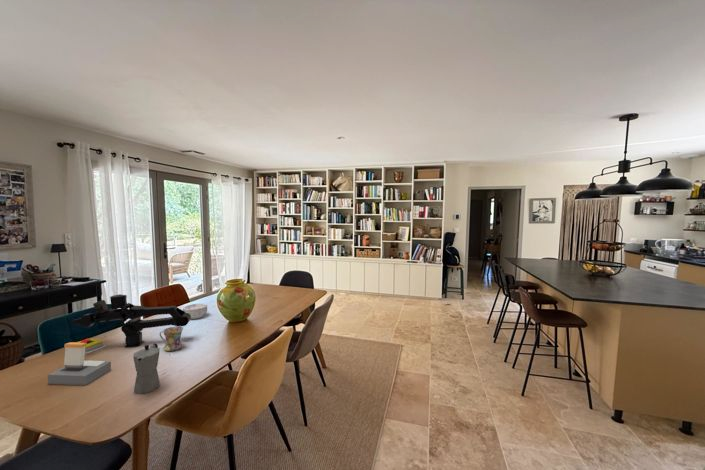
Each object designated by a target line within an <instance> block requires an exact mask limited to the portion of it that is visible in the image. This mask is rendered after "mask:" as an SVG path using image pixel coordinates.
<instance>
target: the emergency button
mask: <svg viewBox="0 0 705 470" xmlns="http://www.w3.org/2000/svg"><path fill="white" fill-rule="evenodd" d="M76 343H87V346H85V355H86V354H89V353H93V352H95V351H99V350H101V349H103V347H104V348H106V347H107V345H106V344H104V341H103V340H101V339H95V338H86V339H85V338H84V339H82V340H80V341H76Z"/></svg>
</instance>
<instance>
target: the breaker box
mask: <svg viewBox="0 0 705 470" xmlns="http://www.w3.org/2000/svg"><path fill="white" fill-rule="evenodd" d="M111 370H112V362H111V361H105V360H85V359H84V364H83V367H82V368H65V365H63V366H62V367H60V368H59V369H56V370H55V371H52V372H50V373H48V374H47V385H67V386H68V385H70V386H87V385H88V384H90V383H92V382H93V381H94V382H95V380H97V379H98V378H100V377H102V376H104V375H105V374H107V373H109V372H110V371H111Z"/></svg>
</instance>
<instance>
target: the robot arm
mask: <svg viewBox="0 0 705 470" xmlns="http://www.w3.org/2000/svg"><path fill="white" fill-rule="evenodd" d="M127 298H128V296H127V294H115V295H110V296H109V300H110V308H109V306H108V304H107V302H106V300H104V299H101V300H99V301H96V302H94V303H92V304H93V307H94V309H95V310H96V311H95V312H92V313H91V312H90V313H87V314H84V315H82V316H81V317H79V318H76V319H72V320H70V323H71V324H73V325H77V326H81V327H83V328H84V329H85V328H90V327H92V326H93V325H94V324H95V322H96V324H99V323H103V322H104V323H105V322H107V323H108V322H111V321H117V320H119V321H120V320H121V321H122V324H121V327H120V330H121V332H122V333H123V334H124V335H125V338H124V339H125V340H124V341H125V343H124V344H125V345H124V348H130V347H131V348H134V347H140V346H141V344H143V343H144V340H143V330H144V329H150V328H157V327H165V326H167V327H168V326H173V327H175V326H181V327H185V326H187V325H188V324H189V323H190V321H191V320H192V319H191V315H190V314H189V313H186V312H184V311H183V309H181V308H179V307H178V306H176V305H168V306H166V305H165V306H153V307H152V306H149V307H148V306H143V305H135V304H132V303H130V302H128V301H127ZM157 315H170V317H162V318H161V317H159V318H153V319H146V320H145V319H141V317H142V318H143V317H145V316H146V317H147V316H157Z"/></svg>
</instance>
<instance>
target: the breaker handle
mask: <svg viewBox="0 0 705 470" xmlns="http://www.w3.org/2000/svg"><path fill="white" fill-rule="evenodd" d="M76 342H77V341H76ZM76 342H75V341H73V342H67V343H64V346H63V347H64V360H63V366H65V368H82V367H83V364H84V360H85V355H86V353H85V346H87V343H76Z"/></svg>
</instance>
